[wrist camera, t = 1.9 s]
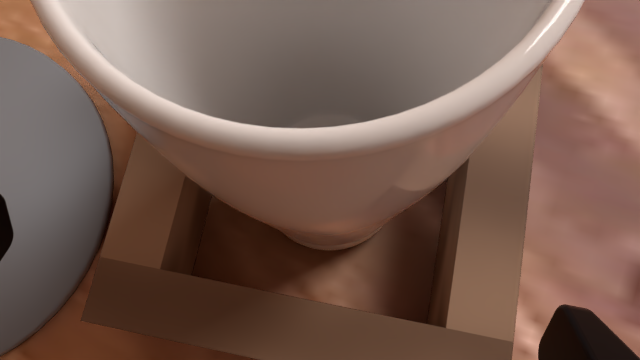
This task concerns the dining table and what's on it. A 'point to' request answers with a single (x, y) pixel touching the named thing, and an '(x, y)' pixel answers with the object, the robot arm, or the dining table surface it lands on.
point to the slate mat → (47, 188)
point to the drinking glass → (311, 94)
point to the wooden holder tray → (311, 316)
